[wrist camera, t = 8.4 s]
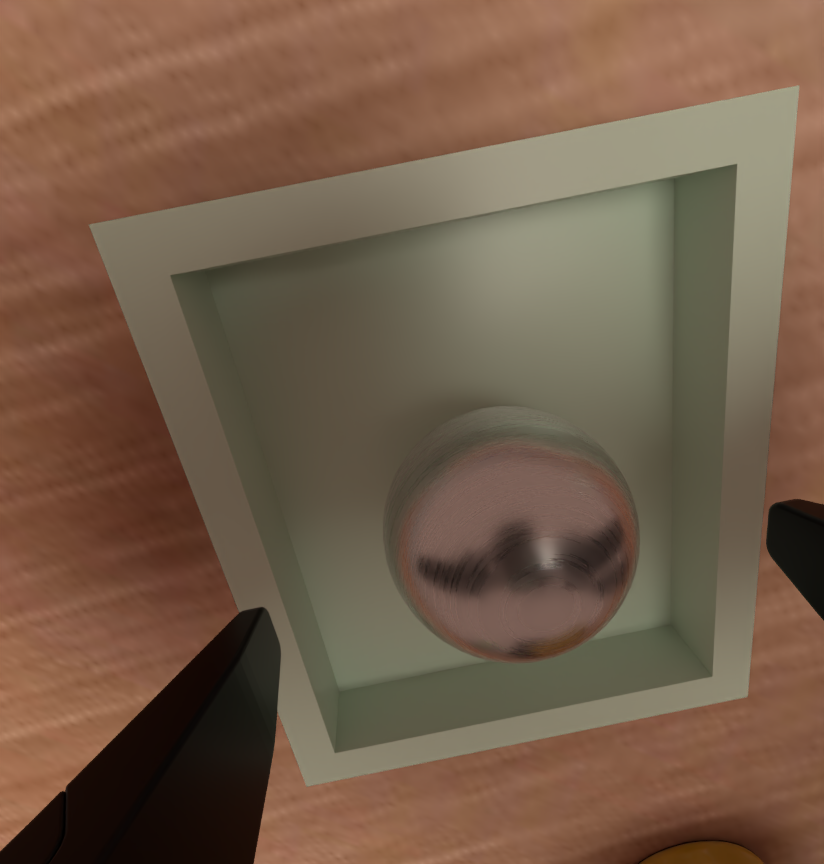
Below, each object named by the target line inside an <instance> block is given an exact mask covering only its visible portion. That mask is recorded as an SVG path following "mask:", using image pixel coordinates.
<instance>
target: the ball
mask: <svg viewBox="0 0 824 864" xmlns="http://www.w3.org/2000/svg"><path fill="white" fill-rule="evenodd" d="M383 543H384V550H385V556H386V561H387V565H388V568H389V571H390V574H391V577H392V579H393V582H394V584H395V586H396V588H397V590H398V592H399V594H400V596H401V598H402V599H403V601H404V602H405V603H406V605H407V606H408V608H409V609H410V610H411V612H412V613H413V615H414V616H415V617H416V618H417V619H418V620H419V621H420V622H421V623H422V624H423V625H424V626H425V627H426V628H427V629H428V630H429V631H430V632H431V633H433V634H434V635H435V636H437V637H438V638H439V639H440V640H442V641H443V642H445V643H447V644H449V645H450V646H452V647H454V648H456V649H458V650H460V651H461V652H464V653H466V654H469V655H471V656H474V657H477V658H481V659H484V660H489V661H494V662H501V663H513V664H520V663H532V662H538V661H543V660H547V659H551V658H554V657H557V656H560V655H563V654H565V653H567V652H569V651H571V650H573V649H576V648H577V647H579V646H581V645H582V644H584V643H586V642H587V641H589V640H590V639H591V638H593V637H594V636H595V635H596V634H598V633H599V632H600V631H601V630H602V629H603V628H604V627H605V626H606V625H607V624H608V623H609V622H610V621H611V619H612V618H613V617H614V616H615V614H616V613H617V611H618V610H619V608H620V607H621V605H622V604H623V602H624V600H625V598H626V596H627V594H628V592H629V590H630V588H631V586H632V583H633V580H634V577H635V573H636V568H637V563H638V558H639V552H640V530H639V520H638V514H637V510H636V506H635V503H634V499H633V496H632V493H631V491H630V488H629V486H628V484H627V482H626V479H625V478H624V476H623V474H622V473H621V471H620V469H619V468H618V466H617V465H616V463H615V462H614V460H613V459H612V458H611V456H610V455H609V454H608V453H607V452H606V451H605V450H604V449H603V448H602V447H601V445H600V444H599V443H598V442H597V441H596V440H594V439H593V438H592V437H591V436H590V435H588V434H587V433H586V432H585V431H583V430H581V429H580V428H578V427H577V426H575V425H573V424H572V423H570V422H568V421H567V420H565V419H563V418H560V417H558V416H555V415H553V414H551V413H547V412H544V411H540V410H536V409H532V408H528V407H519V406H495V407H488V408H480V409H477V410H473V411H469V412H466V413H463V414H461V415H458V416H456V417H453V418H451V419H449V420H448V421H446V422H444V423H442V424H440V425H439V426H437V427H436V428H435V429H433V430H432V431H431V432H429V433H428V434H427V435H426V436H425V437H424V438H422V439H421V440H420V441H419V442H418V443H417V444H416V445H415V446H414V448H413V449H412V450H411V451H410V452H409V454H408V455H407V456H406V457H405V459H404V460H403V462H402V464H401V465H400V467H399V468H398V470H397V472H396V474H395V477H394V479H393V481H392V483H391V486H390V489H389V492H388V496H387V499H386V502H385V509H384V516H383Z"/></svg>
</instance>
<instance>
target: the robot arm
mask: <svg viewBox="0 0 824 864" xmlns="http://www.w3.org/2000/svg"><path fill="white" fill-rule="evenodd" d="M766 545H767V549H768V552H769V554H770V556H771V557H772V559H773V560H774V561H775V562H776V564H777V565H778V566H779V567H780V568H781V570H782V571H783V572H784V573H785V574H786V576H787V577H788V578H789V579H790V580H791V582H792V583H793V584H794V585H795V587H796V588H797V589H798V590H799V591H800V593H801V594H802V595H803V596H804V597H805V599H806V600H807V601H808V602H809V604H810V605H811V606H812V607H813V608H814V610H815V611H816V612H817V613H818V614H819V616H820V617H821V618H822V619H823V620H824V505H823V504H819V503H814V502H810V501H805V500H801V499H793V500H788V501H783V502H778V503H775V504H773V505H772V506H771V507H770V509H769V515H768V526H767V538H766ZM280 665H281V647H280V642H279V639H278V636H277V634H276V631H275V628H274V625H273V623H272V620H271V617H270V614H269V612H268V611H267V609H266V608H264V607H257V608H252V609H247V610H243V611H241V612H240V613H239V614H238V615H237V616H236V617H235V618H234V619H233V620H232V621H231V622H230V623H229V624H228V625H227V626H226V627H225V628H224V629H223V630H222V631H221V632H220V633H219V634H218V635H217V636H216V637H215V638H214V639H213V640H212V641H211V642H210V643H209V644H208V645H207V646H206V647H205V648H204V649H203V650H202V651H201V652H200V653H199V654H198V655H197V656H196V657H195V658H194V659H193V660H192V661H191V662H190V663H189V664H188V665H187V666H186V667H185V668H184V669H183V670H182V671H181V672H180V673H179V674H178V675H177V676H176V677H175V678H174V679H173V680H172V681H171V682H170V683H169V684H168V685H167V686H166V687H165V688H164V689H163V690H162V691H161V692H160V693H159V694H158V695H157V696H156V697H155V698H154V699H153V700H152V701H151V702H150V703H149V704H148V705H147V706H146V707H145V708H144V709H143V710H142V711H141V712H140V713H139V714H138V715H137V716H136V717H135V718H134V719H133V720H132V721H131V722H130V723H129V724H128V725H127V726H126V727H125V728H124V729H123V730H122V731H121V732H120V733H119V734H118V735H117V736H116V737H115V738H114V739H113V740H112V741H111V742H110V743H109V744H108V745H107V746H106V747H105V748H104V749H103V750H102V751H101V752H100V753H99V754H98V755H97V756H96V757H95V758H94V759H93V760H92V761H91V762H90V763H89V764H88V765H87V766H86V767H85V768H84V769H83V770H82V771H81V772H80V773H79V774H78V775H77V776H76V777H75V778H74V779H73V780H72V781H71V782H70V783H69V784H68V785H67V787H66V790H65V792H64V791H62V792H60V793H59V794H58V795H57V796H56V797H55V798H54V799H53V800H52V801H51V802H50V803H49V804H48V805H47V806H46V807H45V808H44V809H43V810H42V811H41V812H40V813H39V814H38V815H37V816H36V817H35V818H34V819H33V820H32V821H31V822H30V823H29V824H28V825H27V826H26V827H25V828H24V829H23V830H22V831H21V832H20V833H19V834H18V835H17V836H16V837H15V838H14V839H12V840H11V841H10V842H9V843H8V844H7V845H6V846H5V847H4V848H3V849H2V850H1V851H0V864H254V858H255V852H256V847H257V841H258V836H259V830H260V825H261V819H262V813H263V808H264V802H265V797H266V791H267V786H268V780H269V774H270V769H271V763H272V757H273V751H274V744H275V733H276V720H277V707H278V693H279V679H280Z"/></svg>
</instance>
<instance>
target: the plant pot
mask: <svg viewBox="0 0 824 864" xmlns="http://www.w3.org/2000/svg"><path fill="white" fill-rule="evenodd" d="M639 864H764V863H763V862H762V861H761V860H760V858H759V857H758V856H756V855H755V854H754V853H752V852H751V851H749V850H747V849H746V848H744V847H741V846H739V845H736V844H732V843H728V842H721V841H700V842H692V843H687V844H682V845H678V846H675V847H671V848H668V849H665V850H663V851H660V852H658V853H656V854H654V855H652V856H650V857H648V858H647V859H645V860H644V861H642V862H641V863H639Z"/></svg>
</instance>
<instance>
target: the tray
mask: <svg viewBox="0 0 824 864" xmlns="http://www.w3.org/2000/svg"><path fill="white" fill-rule="evenodd" d="M798 95H799V85H798V86H793V87H788V88H783V89H778V90H773V91H768V92H763V93H758V94H753V95H747V96H742V97H737V98H732V99H727V100H722V101H717V102H712V103H707V104H701V105H696V106H691V107H686V108H681V109H676V110H671V111H666V112H661V113H656V114H650V115H645V116H640V117H635V118H630V119H625V120H620V121H615V122H610V123H605V124H599V125H594V126H589V127H584V128H579V129H574V130H569V131H564V132H559V133H553V134H548V135H543V136H538V137H533V138H528V139H523V140H518V141H513V142H508V143H502V144H497V145H492V146H487V147H482V148H477V149H472V150H467V151H462V152H457V153H451V154H446V155H441V156H436V157H431V158H426V159H421V160H416V161H411V162H405V163H400V164H395V165H390V166H385V167H380V168H375V169H370V170H365V171H360V172H354V173H349V174H344V175H339V176H334V177H329V178H324V179H319V180H314V181H309V182H303V183H298V184H293V185H288V186H283V187H278V188H273V189H268V190H263V191H257V192H252V193H247V194H242V195H237V196H232V197H227V198H222V199H217V200H212V201H206V202H201V203H196V204H191V205H186V206H181V207H176V208H171V209H166V210H161V211H155V212H150V213H145V214H140V215H135V216H130V217H125V218H120V219H115V220H109V221H104V222H99V223H94V224H89V227H90V229H91V232H92V234H93V237H94V240H95V242H96V245H97V247H98V250H99V252H100V255H101V258H102V260H103V263H104V265H105V268H106V271H107V273H108V276H109V278H110V281H111V283H112V286H113V289H114V291H115V294H116V296H117V299H118V301H119V304H120V307H121V309H122V312H123V314H124V317H125V320H126V322H127V325H128V327H129V330H130V332H131V335H132V338H133V340H134V343H135V345H136V348H137V350H138V353H139V356H140V358H141V361H142V363H143V366H144V368H145V371H146V374H147V376H148V379H149V381H150V384H151V387H152V389H153V392H154V394H155V397H156V399H157V402H158V405H159V407H160V410H161V412H162V415H163V417H164V420H165V423H166V425H167V428H168V430H169V433H170V436H171V438H172V441H173V443H174V446H175V448H176V451H177V454H178V456H179V459H180V461H181V464H182V466H183V469H184V472H185V474H186V477H187V479H188V482H189V485H190V487H191V490H192V492H193V495H194V497H195V500H196V503H197V505H198V508H199V510H200V513H201V515H202V518H203V521H204V523H205V526H206V528H207V531H208V534H209V536H210V539H211V541H212V544H213V546H214V549H215V552H216V554H217V557H218V559H219V562H220V564H221V567H222V570H223V572H224V575H225V577H226V580H227V582H228V585H229V588H230V590H231V593H232V595H233V598H234V601H235V603H236V606H237V608H238V611H239V613H240V612H241V611H243V610H247V609H252V608H257V607H264V608H266V609H267V611H268V612H269V614H270V617H271V620H272V623H273V625H274V628H275V631H276V634H277V636H278V639H279V642H280V647H281V665H280V679H279V693H278V707H277V711H278V714H279V717H280V719H281V722H282V724H283V727H284V729H285V732H286V735H287V737H288V740H289V742H290V745H291V747H292V750H293V753H294V755H295V758H296V760H297V763H298V766H299V768H300V771H301V773H302V776H303V778H304V781H305V784H306V786H307V787H308V786H313V785H318V784H323V783H328V782H332V781H337V780H342V779H347V778H352V777H357V776H362V775H367V774H372V773H377V772H382V771H386V770H391V769H396V768H401V767H406V766H411V765H416V764H421V763H426V762H431V761H436V760H440V759H445V758H450V757H455V756H460V755H465V754H470V753H475V752H480V751H485V750H490V749H494V748H499V747H504V746H509V745H514V744H519V743H524V742H529V741H534V740H539V739H544V738H548V737H553V736H558V735H563V734H568V733H573V732H578V731H583V730H588V729H593V728H598V727H602V726H607V725H612V724H617V723H622V722H627V721H632V720H637V719H642V718H647V717H652V716H656V715H661V714H666V713H671V712H676V711H681V710H686V709H691V708H696V707H701V706H706V705H710V704H715V703H720V702H725V701H730V700H735V699H740V698H745V697H748V687H749V676H750V664H751V652H752V640H753V628H754V616H755V605H756V593H757V581H758V569H759V557H760V545H761V533H762V522H763V510H764V498H765V486H766V474H767V462H768V451H769V439H770V427H771V415H772V403H773V391H774V380H775V368H776V356H777V344H778V332H779V320H780V308H781V297H782V285H783V273H784V261H785V249H786V237H787V226H788V214H789V202H790V190H791V178H792V166H793V155H794V143H795V131H796V119H797V107H798ZM495 406H519V407H528V408H532V409H536V410H540V411H544V412H547V413H551V414H553V415H555V416H558V417H560V418H563V419H565V420H567V421H568V422H570V423H572V424H573V425H575V426H577V427H578V428H580V429H581V430H583V431H585V432H586V433H587V434H588V435H590V436H591V437H592V438H593V439H594V440H596V441H597V442H598V443H599V444H600V445H601V447H602V448H603V449H604V450H605V451H606V452H607V453H608V454H609V455H610V456H611V458H612V459H613V460H614V462H615V463H616V465H617V466H618V468H619V469H620V471H621V473H622V474H623V476H624V478H625V479H626V482H627V484H628V486H629V488H630V491H631V493H632V496H633V499H634V503H635V506H636V510H637V514H638V520H639V530H640V552H639V558H638V563H637V568H636V573H635V577H634V580H633V583H632V586H631V588H630V590H629V592H628V594H627V596H626V598H625V600H624V602H623V604H622V605H621V607H620V608H619V610H618V611H617V613H616V614H615V616H614V617H613V618H612V619H611V621H610V622H609V623H608V624H607V625H606V626H605V627H604V628H603V629H602V630H601V631H600V632H599V633H598V634H596V635H595V636H594V637H593V638H591V639H590V640H589V641H587V642H586V643H584V644H582V645H581V646H579V647H577V648H576V649H573V650H571V651H569V652H567V653H565V654H563V655H560V656H557V657H554V658H551V659H547V660H543V661H538V662H532V663H520V664H513V663H501V662H494V661H489V660H484V659H481V658H477V657H474V656H471V655H469V654H466V653H464V652H461V651H460V650H458V649H456V648H454V647H452V646H450V645H449V644H447V643H445V642H443V641H442V640H440V639H439V638H438V637H437V636H435V635H434V634H433V633H431V632H430V631H429V630H428V629H427V628H426V627H425V626H424V625H423V624H422V623H421V622H420V621H419V620H418V619H417V618H416V617H415V616H414V615H413V613H412V612H411V610H410V609H409V608H408V606H407V605H406V603H405V602H404V601H403V599H402V598H401V596H400V594H399V592H398V590H397V588H396V586H395V584H394V582H393V579H392V577H391V574H390V571H389V568H388V565H387V561H386V556H385V550H384V543H383V516H384V509H385V502H386V499H387V496H388V492H389V489H390V486H391V483H392V481H393V479H394V477H395V474H396V472H397V470H398V468H399V467H400V465H401V464H402V462H403V460H404V459H405V457H406V456H407V455H408V454H409V452H410V451H411V450H412V449H413V448H414V446H415V445H416V444H417V443H418V442H419V441H420V440H421V439H422V438H424V437H425V436H426V435H427V434H428V433H429V432H431V431H432V430H433V429H435V428H436V427H437V426H439V425H440V424H442V423H444V422H446V421H448V420H449V419H451V418H453V417H456V416H458V415H461V414H463V413H466V412H469V411H473V410H477V409H480V408H488V407H495Z"/></svg>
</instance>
